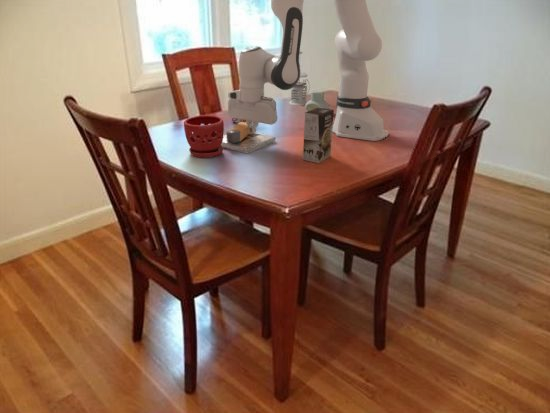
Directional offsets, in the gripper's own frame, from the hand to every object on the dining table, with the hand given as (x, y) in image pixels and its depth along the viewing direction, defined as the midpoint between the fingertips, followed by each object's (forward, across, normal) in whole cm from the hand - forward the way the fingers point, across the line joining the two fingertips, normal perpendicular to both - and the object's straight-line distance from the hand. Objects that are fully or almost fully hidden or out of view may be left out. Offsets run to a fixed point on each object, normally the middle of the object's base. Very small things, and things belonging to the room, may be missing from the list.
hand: (252, 132), depth 167 cm
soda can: (+4, +21, -19) cm, 28 cm away
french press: (+4, +18, -65) cm, 67 cm away
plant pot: (+3, +4, +21) cm, 22 cm away
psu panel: (+3, +1, +4) cm, 5 cm away
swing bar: (+1, +3, +5) cm, 5 cm away
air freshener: (+4, +2, -52) cm, 52 cm away
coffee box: (+4, -29, +2) cm, 29 cm away
